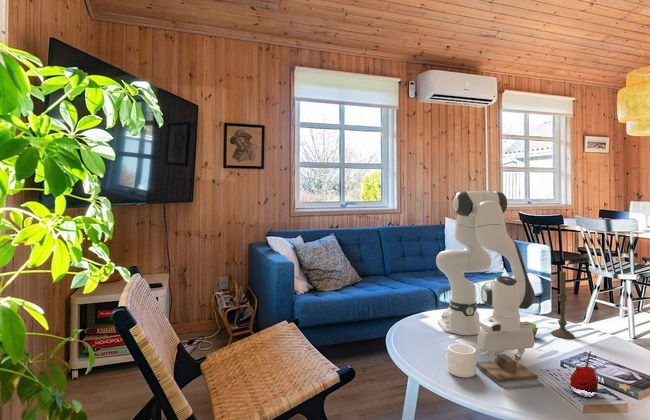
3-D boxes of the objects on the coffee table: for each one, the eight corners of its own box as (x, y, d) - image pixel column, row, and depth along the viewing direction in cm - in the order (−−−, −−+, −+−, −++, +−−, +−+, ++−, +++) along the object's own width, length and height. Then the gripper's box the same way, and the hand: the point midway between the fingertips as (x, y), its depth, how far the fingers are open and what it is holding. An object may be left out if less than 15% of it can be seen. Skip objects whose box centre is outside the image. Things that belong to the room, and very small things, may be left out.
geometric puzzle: (534, 329, 178) (525, 316, 176) (546, 334, 171) (537, 321, 170) (524, 339, 176) (515, 327, 175) (535, 345, 170) (526, 331, 168)
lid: (477, 365, 143) (477, 352, 143) (513, 362, 145) (513, 349, 145) (498, 382, 130) (498, 367, 130) (537, 378, 132) (537, 363, 132)
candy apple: (589, 388, 126) (590, 344, 126) (603, 400, 119) (604, 352, 119) (565, 388, 127) (566, 343, 126) (578, 399, 120) (578, 352, 119)
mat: (473, 363, 146) (473, 361, 146) (506, 361, 148) (506, 359, 148) (505, 389, 127) (505, 387, 127) (543, 385, 129) (543, 383, 129)
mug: (436, 371, 140) (436, 347, 140) (450, 363, 147) (449, 339, 147) (467, 382, 131) (467, 356, 131) (480, 373, 139) (480, 348, 138)
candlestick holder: (579, 337, 173) (579, 271, 172) (564, 340, 169) (565, 272, 169) (560, 330, 181) (560, 267, 180) (546, 333, 178) (546, 269, 177)
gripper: (526, 318, 142) (526, 355, 142) (475, 321, 139) (475, 359, 139) (538, 323, 135) (538, 362, 136) (485, 327, 132) (485, 366, 133)
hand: (506, 360), depth 137 cm, fingers open, 8 cm apart
